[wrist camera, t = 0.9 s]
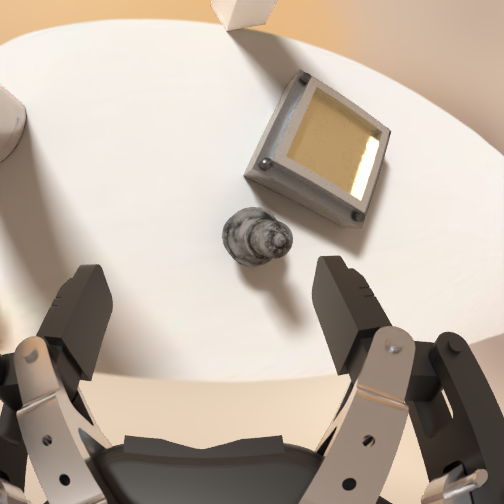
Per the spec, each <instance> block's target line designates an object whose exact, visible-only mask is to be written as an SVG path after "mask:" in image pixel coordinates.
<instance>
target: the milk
mask: <svg viewBox="0 0 504 504" xmlns="http://www.w3.org/2000/svg"><path fill="white" fill-rule="evenodd" d="M277 1H278V0H212V1H211V8H212V9H213V11H214V12H215V14H216V15H217V17H218V18H219V20H220V22H221V23H222V25H223V26H224V28H225V29H226V31H230V30H235V29H240V28H245V27H251V26H257V25H263V24H265V23H266V21H267V19H268V18H269V16H270V14H271V12H272V10H273V8H274V6H275V4H276V3H277Z"/></svg>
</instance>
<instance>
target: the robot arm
mask: <svg viewBox="0 0 504 504" xmlns="http://www.w3.org/2000/svg"><path fill="white" fill-rule="evenodd" d="M25 120H26V111H25V108H24V105H23V104H22V102H21V101H19V100H18V99H17V98H16V97H15V96H13V95H12V94H11V93H10V92H9V91H8V90H7V89H5V88H4V87H3V86H2V85H1V84H0V162H1V161H2V160H4V159H5V158H6V157H7V156H8V155H9V154H10V153H11V152H12V151H13V149H14V148H15V147H16V145H17V143H18V141H19V140H20V138H21V135H22V133H23V130H24V126H25ZM312 301H313V305H314V308H315V311H316V314H317V316H318V319H319V322H320V325H321V328H322V330H323V333H324V336H325V339H326V342H327V344H328V347H329V350H330V353H331V356H332V359H333V362H334V365H335V368H336V371H337V374H338V375H343V374H348V373H349V375H350V378H351V381H350V383H349V385H348V387H347V390H346V392H345V394H344V396H343V399H342V401H341V403H340V405H339V408H338V410H337V412H336V414H335V416H334V418H333V420H332V422H331V424H330V426H329V428H328V430H327V431H326V433H325V434H324V436H323V438H322V439H321V441H320V443H319V445H318V446H317V448H316V450H315V452H314V451H312V450H310V449H307V448H304V447H301V446H297V445H292V444H286V443H283V439H282V435H280V436H272V437H262V438H250V439H241V440H237V441H234V442H230V443H227V444H223V445H219V446H215V447H211V448H207V449H195V448H191V447H187V446H184V445H180V444H176V443H173V442H169V441H166V440H163V439H154V438H144V437H135V436H126V435H125V439H124V444H121V445H116V446H112V445H111V443H110V442H109V441H108V439H107V438H106V437H105V436H104V434H103V433H102V432H101V430H100V429H99V427H98V425H97V423H96V421H95V419H94V417H93V415H92V413H91V411H90V409H89V407H88V405H87V403H86V401H85V399H84V397H83V394H82V392H81V390H80V388H79V387H78V384H79V381H80V380H86V381H91V379H92V375H93V372H94V368H95V364H96V361H97V357H98V354H99V350H100V347H101V344H102V340H103V337H104V334H105V331H106V328H107V325H108V322H109V319H110V316H111V313H112V308H113V301H112V296H111V293H110V290H109V287H108V284H107V282H106V279H105V276H104V273H103V270H102V267H101V266H100V265H99V264H95V265H81V266H79V268H78V270H77V271H76V273H75V275H74V277H73V278H70V279H69V280H68V281H67V282H66V283H65V284H64V285H63V286H62V287H61V288H60V290H59V292H58V294H57V296H56V299H54V301H53V303H52V305H51V306H52V307H50V309H49V311H48V313H47V315H46V316H45V318H44V321H43V323H42V325H41V327H40V329H39V331H38V333H37V335H36V336H33V337H29V338H27V339H25V340H23V341H22V342H21V343H20V344H19V345H18V347H17V348H16V350H15V353H10V354H4V355H1V354H0V400H2V402H3V403H4V404H3V408H2V412H1V416H0V504H32V503H31V502H30V501H29V500H27V499H26V497H25V495H24V486H25V474H26V464H27V456H28V455H29V457H30V460H31V463H32V465H33V468H34V470H35V473H36V475H37V478H38V480H39V482H40V485H41V487H42V489H43V491H44V493H45V495H46V497H47V501H46V502H45V503H44V504H392V503H390V502H389V501H387V500H385V499H384V498H382V497H381V496H379V495H380V493H381V490H382V488H383V486H384V483H385V481H386V478H387V476H388V474H389V471H390V468H391V466H392V463H393V460H394V457H395V455H396V452H397V449H398V445H399V443H400V440H401V437H402V433H403V430H404V427H405V423H406V420H407V416H408V412H409V415H410V418H411V421H412V424H413V427H414V430H415V433H416V437H417V439H418V443H419V446H420V449H421V453H422V457H423V460H424V464H425V467H426V471H427V475H428V479H429V485H428V486H427V488H426V490H425V493H424V495H423V496H422V499H421V504H504V417H503V415H502V412H501V410H500V407H499V405H498V403H497V401H496V399H495V396H494V394H493V392H492V390H491V388H490V386H489V384H488V382H487V379H486V378H485V375H484V374H483V372H482V370H481V368H480V366H479V364H478V362H477V360H476V359H475V357H474V355H473V353H472V351H471V349H470V348H469V346H468V344H467V343H466V341H465V340H464V339H463V338H462V337H461V336H459V335H458V334H456V333H453V332H444V333H442V334H440V335H439V337H438V338H437V340H436V341H435V343H432V342H420V341H414V340H413V338H412V337H411V336H410V335H409V334H408V333H407V332H406V331H404V330H403V329H401V328H398V327H394V326H392V324H391V323H390V321H389V319H388V317H387V316H386V314H385V312H384V310H383V309H382V307H381V305H380V303H379V302H378V300H377V298H376V297H374V293H373V292H372V290H371V288H369V285H368V283H367V282H366V280H365V278H364V277H363V276H362V275H361V274H360V273H358V272H357V271H356V270H355V269H353V268H350V269H348V268H347V266H346V264H345V263H344V261H343V259H342V258H341V256H320V257H319V258H318V261H317V267H316V272H315V277H314V282H313V287H312ZM443 389H444V391H445V393H446V396H447V398H448V401H449V403H450V405H451V408H452V410H453V419H452V416H451V414H450V411H449V409H448V406H447V404H446V401H445V399H444V396H443V394H442V392H441V391H442V390H443ZM404 401H405V403H406V404H405V403H404Z"/></svg>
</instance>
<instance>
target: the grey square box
mask: <svg viewBox="0 0 504 504" xmlns="http://www.w3.org/2000/svg"><path fill="white" fill-rule="evenodd" d="M390 134H391V131H390V130H389V129H388V128H387V127H385V126H384V125H383V124H381V123H380V122H379V121H377V120H376V119H375V118H373V117H372V116H371V115H369V114H368V113H367V112H365V111H364V110H363V109H361V108H360V107H358V106H357V105H356V104H354V103H353V102H351V101H350V100H348V99H347V98H345V97H344V96H342V95H341V94H339V93H338V92H336V91H335V90H333V89H332V88H330V87H329V86H327V85H325V84H324V83H322V82H320V81H319V80H317V79H315V78H314V77H312V76H311V75H310V74H308V73H305V72H303V71H302V70H300V71H299V72H298V73H297V74H296V75H295V76H294V78H293V79H292V80H291V81H290V82H289V83H288V85H287V87H286V89H285V91H284V93H283V95H282V97H281V99H280V101H279V103H278V105H277V107H276V109H275V111H274V113H273V115H272V117H271V119H270V121H269V123H268V125H267V127H266V129H265V131H264V133H263V135H262V137H261V139H260V142H259V144H258V146H257V148H256V150H255V152H254V154H253V156H252V158H251V160H250V163H249V165H248V167H247V169H246V171H245V173H244V175H243V176H245V177H247V178H249V179H251V180H253V181H255V182H257V183H259V184H261V185H263V186H265V187H267V188H269V189H271V190H273V191H275V192H277V193H279V194H281V195H283V196H285V197H287V198H289V199H291V200H293V201H295V202H297V203H299V204H300V205H302V206H304V207H306V208H308V209H310V210H312V211H314V212H315V213H317V214H319V215H321V216H323V217H325V218H326V219H328V220H330V221H332V222H334V223H335V224H337V225H339V226H341V227H343V228H362V225H363V222H364V219H365V216H366V213H367V210H368V207H369V204H370V201H371V198H372V195H373V192H374V189H375V186H376V183H377V180H378V176H379V173H380V170H381V166H382V163H383V159H384V156H385V152H386V149H387V145H388V141H389V138H390Z"/></svg>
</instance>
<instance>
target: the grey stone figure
mask: <svg viewBox="0 0 504 504" xmlns="http://www.w3.org/2000/svg"><path fill="white" fill-rule="evenodd" d="M222 239H223V244H224V246H225V248H226V250H227V251H228V253H229V254H230V255H231V256H232V258H233V259H234V260H236V261H237V262H239V263H240V264H243V265H246V266H259V265H263V264H265V263H267V262H269V261H270V260H271V259H272V258H280V257H282V256H284V255H286V254H287V253H288V252H289V250H290V249H291V246H292V243H293V237H292V233H291V230H290V229H289V228H288V226H286V225H285V224H284V223H282V222H279V221H277V220H276V218H275V217H274V216H273V215H272V214H271V213H270V212H268V211H267V210H264V209H262V208H257V207H250V208H244V209H242V210H240V211H238V212H237V213H236V214H234V215H233V216H232V217H231V218H230V219H229V220H228V221H227V222H226V224H225V226H224V228H223V233H222Z"/></svg>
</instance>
